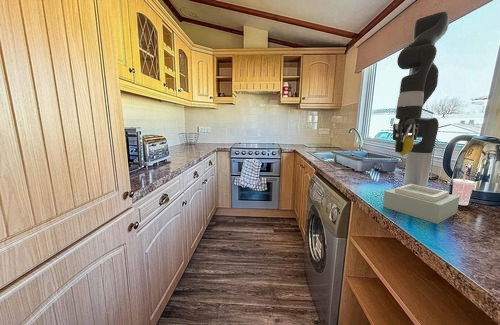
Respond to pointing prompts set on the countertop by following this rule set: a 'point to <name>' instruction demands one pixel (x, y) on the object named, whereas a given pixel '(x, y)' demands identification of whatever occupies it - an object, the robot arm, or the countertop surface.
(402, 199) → the stand
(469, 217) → the countertop surface
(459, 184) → the beverage cup
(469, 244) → the countertop surface
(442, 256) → the countertop surface
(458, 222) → the countertop surface
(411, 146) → the lemon
